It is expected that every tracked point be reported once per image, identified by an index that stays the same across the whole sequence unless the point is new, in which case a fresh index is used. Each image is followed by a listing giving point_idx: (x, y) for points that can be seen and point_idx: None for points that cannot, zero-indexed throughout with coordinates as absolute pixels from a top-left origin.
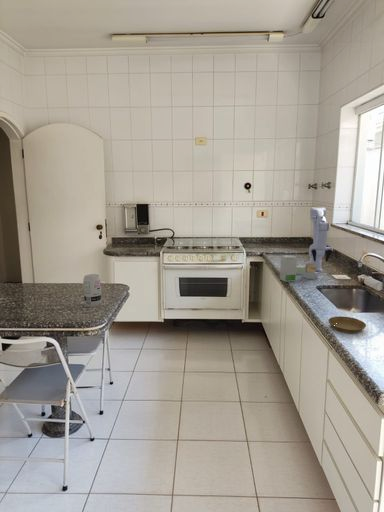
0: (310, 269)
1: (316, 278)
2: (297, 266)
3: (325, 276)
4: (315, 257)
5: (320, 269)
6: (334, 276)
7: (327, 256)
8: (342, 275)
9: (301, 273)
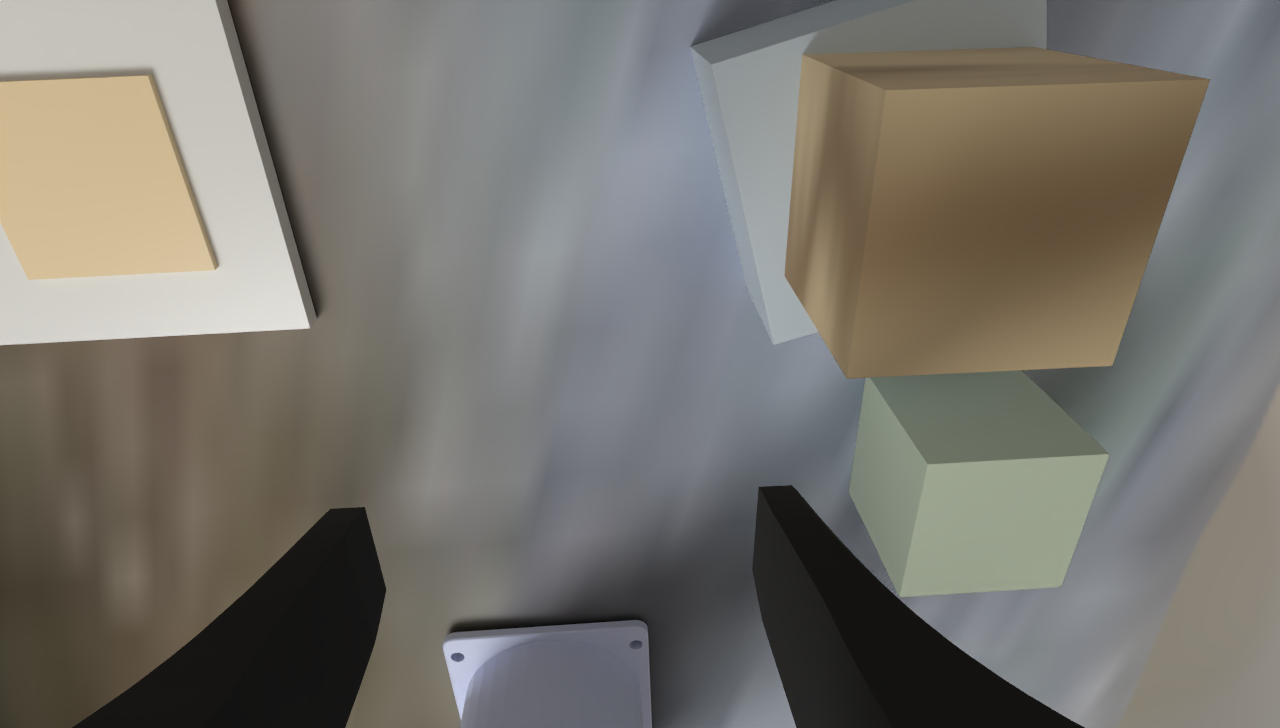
0: (992, 60)
1: (720, 37)
2: (1060, 525)
3: (460, 257)
4: (829, 574)
5: (478, 669)
6: (252, 194)
7: (262, 649)
8: (60, 304)
9: (934, 380)
